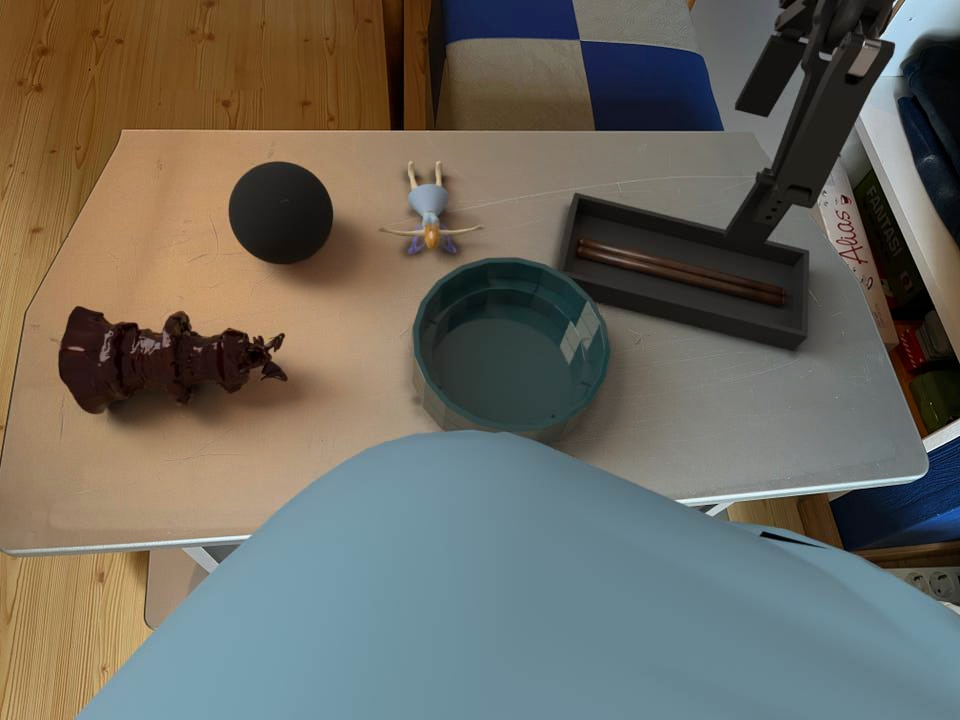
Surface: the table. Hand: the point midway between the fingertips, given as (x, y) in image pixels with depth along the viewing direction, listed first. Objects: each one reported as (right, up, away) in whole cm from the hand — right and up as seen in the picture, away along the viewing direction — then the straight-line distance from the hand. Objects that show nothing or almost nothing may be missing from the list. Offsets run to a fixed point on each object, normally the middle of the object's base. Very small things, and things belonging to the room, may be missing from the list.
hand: (746, 171), depth 57 cm
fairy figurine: (-26, +1, +25) cm, 36 cm away
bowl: (-18, -15, +17) cm, 29 cm away
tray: (+1, -6, +24) cm, 25 cm away
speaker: (-40, -2, +21) cm, 46 cm away
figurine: (-47, -16, +13) cm, 52 cm away
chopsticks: (+1, -5, +24) cm, 24 cm away
